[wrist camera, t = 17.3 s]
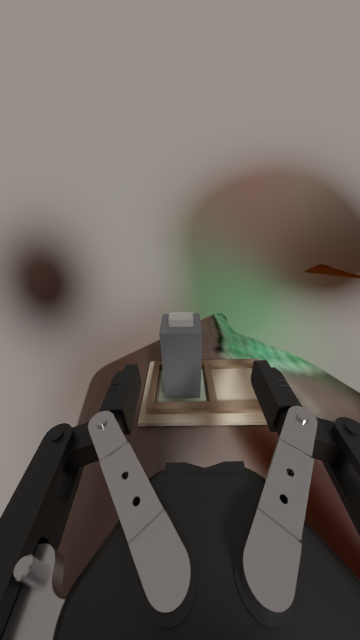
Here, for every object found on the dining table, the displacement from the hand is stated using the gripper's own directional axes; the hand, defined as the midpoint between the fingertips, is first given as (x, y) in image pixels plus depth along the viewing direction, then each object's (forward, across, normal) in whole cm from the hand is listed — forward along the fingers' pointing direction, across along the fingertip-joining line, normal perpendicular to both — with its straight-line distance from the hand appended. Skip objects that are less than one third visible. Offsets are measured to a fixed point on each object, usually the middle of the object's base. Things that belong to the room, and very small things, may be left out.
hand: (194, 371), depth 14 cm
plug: (+11, +1, +14) cm, 18 cm away
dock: (+11, -3, +15) cm, 19 cm away
